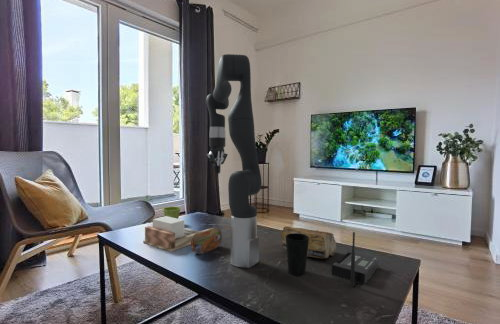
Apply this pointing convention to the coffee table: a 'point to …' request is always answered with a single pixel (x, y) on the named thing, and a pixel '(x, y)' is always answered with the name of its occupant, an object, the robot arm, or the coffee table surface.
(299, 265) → the cup
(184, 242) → the roller track
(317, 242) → the petrified wood
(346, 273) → the wireless controller
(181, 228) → the white rectangular block
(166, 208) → the plant pot
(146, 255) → the coffee table surface
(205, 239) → the tin
